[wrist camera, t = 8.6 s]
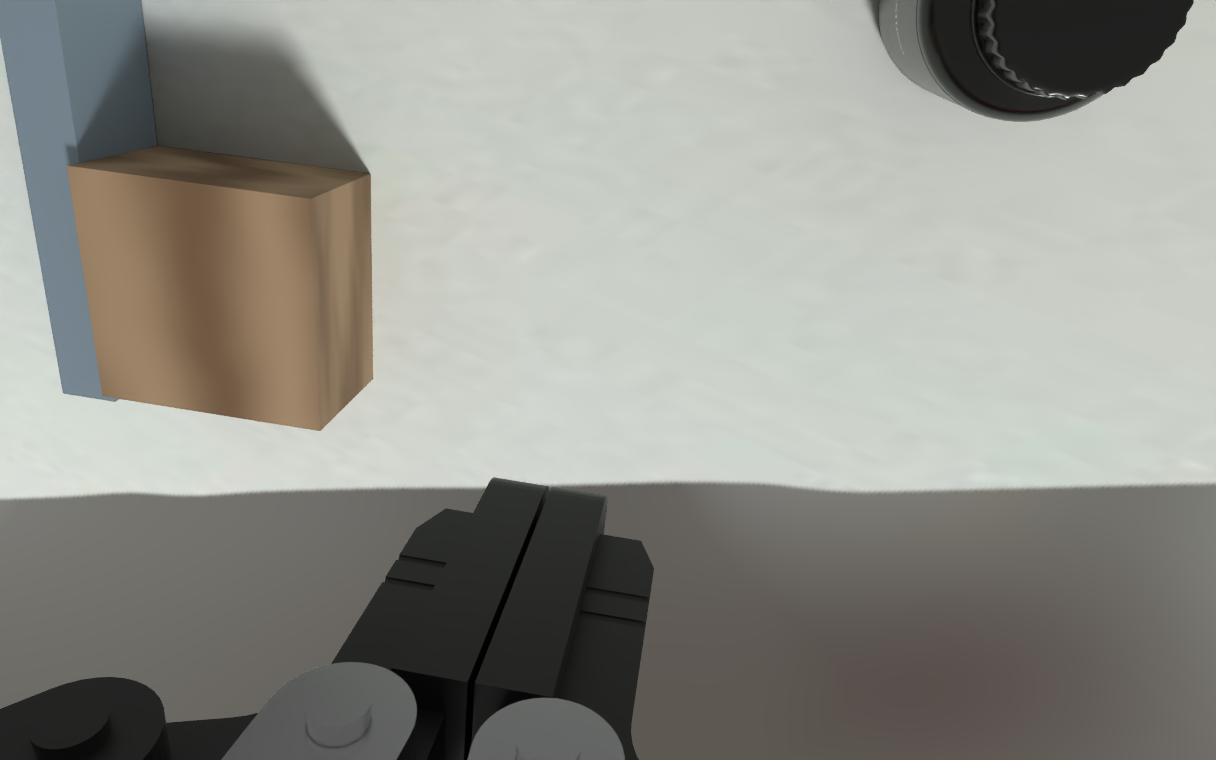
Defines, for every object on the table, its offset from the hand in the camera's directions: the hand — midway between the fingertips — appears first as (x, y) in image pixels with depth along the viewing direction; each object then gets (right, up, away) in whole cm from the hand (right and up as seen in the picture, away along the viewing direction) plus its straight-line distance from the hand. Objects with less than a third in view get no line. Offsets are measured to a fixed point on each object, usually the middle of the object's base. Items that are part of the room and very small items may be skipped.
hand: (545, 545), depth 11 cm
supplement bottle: (+14, +16, +21) cm, 30 cm away
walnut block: (-15, +8, +29) cm, 34 cm away
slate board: (-21, +12, +27) cm, 37 cm away
